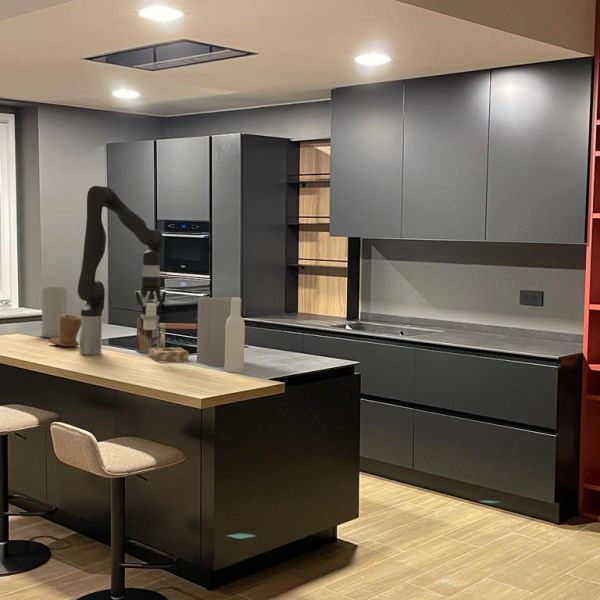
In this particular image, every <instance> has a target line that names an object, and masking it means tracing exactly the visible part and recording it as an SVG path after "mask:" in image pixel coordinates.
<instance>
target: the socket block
mask: <svg viewBox="0 0 600 600" xmlns="http://www.w3.org/2000/svg"><path fill="white" fill-rule="evenodd" d="M148 357H149V358H150V359H151V360H152V361H154V360H155V361H154V362H156V361H157V362H156V363H159V361H163V362H188V361H189V351H188V350H186V349H184V348H182V347H165V348H149V353H148ZM163 362H162V363H163Z"/></svg>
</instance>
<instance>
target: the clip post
mask: <svg viewBox="0 0 600 600" xmlns="http://www.w3.org/2000/svg"><path fill="white" fill-rule="evenodd" d="M160 348H166V328H160Z"/></svg>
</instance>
